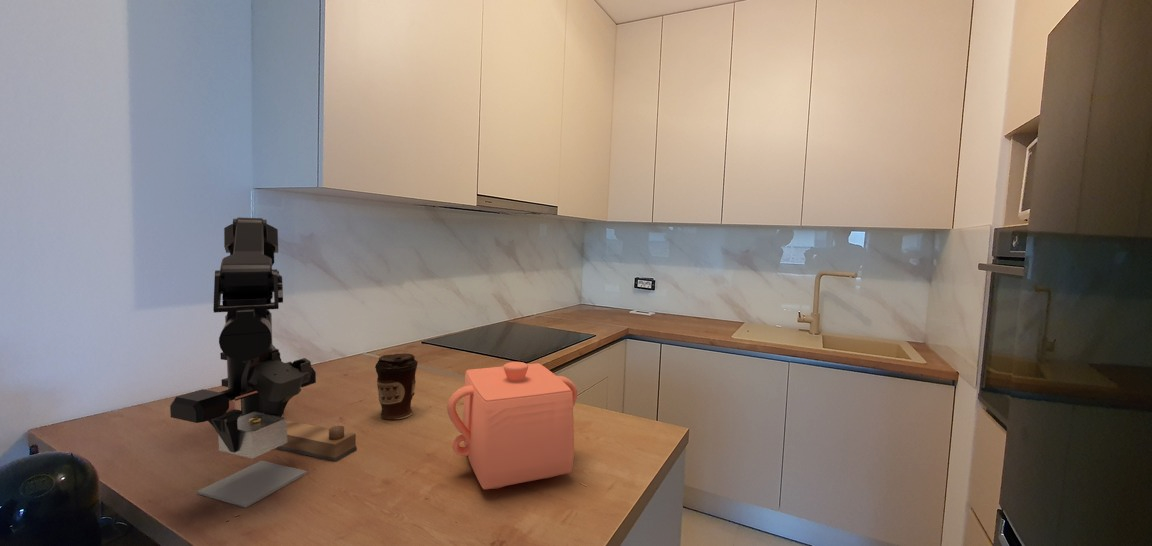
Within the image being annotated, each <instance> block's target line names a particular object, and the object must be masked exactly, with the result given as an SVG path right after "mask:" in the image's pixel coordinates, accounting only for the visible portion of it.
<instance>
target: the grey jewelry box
mask: <svg viewBox="0 0 1152 546" xmlns="http://www.w3.org/2000/svg"><path fill="white" fill-rule="evenodd" d="M287 419H288V418H287V417H283V416H282V417H279V416H274V415H268V414H263V413H258V412H252V413H249V414H246V415H244V416H241V417H239V418H238V420H237V425H238V450H237V452H235V453H234V452H230V451H229V449H228V448H227V446H226V445H225V443H224V442H223V440H222V439H221V437H220V436H219V434H218V433H217V436H218V437H217V438H218V441H217V442H218V451H219V452H223V453H228V454H232V455H235V456H240V457H244V458H249V459H255V458H257V457H259V456H261V455H263V454H266V453H268V452H270V451H272V450H274V449H277V447H279V446H281V445H283V444H285V443H287V421H288V420H287Z"/></svg>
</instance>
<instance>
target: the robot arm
mask: <svg viewBox="0 0 1152 546" xmlns="http://www.w3.org/2000/svg"><path fill="white" fill-rule="evenodd" d="M223 232H224V233H223V234H224V235H223V236H224V237H223V240H224V241H223V242H224V243H223V246H224V250H225V253H226V254H229V255H228V256H225V257H223V258H222V259H221V262H220V269H219V270H214V279H213V280H214V286H213V287H214V288H213V313H214V314H215V313H226V315H225V316H224V319H225V324H224V325H223V327H222V331H221V332H220V334H219V337H218V345H219V347H220V350H221V351H222V352H220V353H219V354H220V356H219V357H220V360H222V361H226V368H227V369H226V373H227V377H226V378H221V379H220V381H221V386H222V387H223V388H224V387H226V388H227V389H225V390H221V391H219V392H218V391H213V390H208V389H197V390H196V391H191V392H189V393H185V394H181V395H178V396H175V398H174V399H173V401H172V402H171V403H170V406H169V411H170V418H171V419H176V420H177V419H178V420H180V421H185V422H191V423H193V424H198V423H205V422H208V424H210V425H211V426H212V428H213V429H214V430H215V431H216V433H217V435H218V434H219V436H220V437H221V439H222V440H223V442H224V443H225V445H226V446H227V448H228V449H229V451H230V452H234V453H235V452H237V450H238V425H237V420H238V418H239V417H241V416H244V415H246V414H249V413H252V412H258V413H263V414H268V415H274V416H279V417H283V414H284V413H285V409H286V407H287V405H288V403H289V402H290V400H292V398H293V397H295V396H297V395H299V393H301V391H302V388H305V387H308V386H310V385H313V384H316V383H317V372H316V370H315V369H314V368H313V367H312V364H311V363H312V362H311V361H310V360H309V359H307V358H306V357H303V358H299V359H296V360H294V361H293V362H292V361H287V362H284V361H282V358H281V352H280V349H279V348H276V347H275V345H274V344H273V321H272V312H271V311H270V310H279V303H281V304H282V303H284V293H283V292H284V291H283V290H284V287H283V275H281V274H280V272H279V270H278V269H277V268H276V269H275V268H274V269H273V265H274V264H275V254H278V253H279V229H278V228H276V227H274V226H273V225H270V224H268V222H267V219H264V218H261V217H238V216H237V218H233V219H232V223H231V224H230V225H227V226H226V227H224V229H223ZM221 297H222V298H221ZM221 299H222V301H221ZM272 299H274V301H273V302H272ZM221 302H222V304H221ZM239 400H240V409H237V408H236V402H237V401H239Z"/></svg>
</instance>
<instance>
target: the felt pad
mask: <svg viewBox="0 0 1152 546" xmlns="http://www.w3.org/2000/svg"><path fill="white" fill-rule="evenodd" d="M307 474H308V471H307V470H303V469H300V468H295V467H292V466H291V467H290V466H286V465H281V464H278V463H274V462H270V461H266V460H259V461H257V462H256V463H254V464H251V465H249V466H247V467H245V468H243V469H241V470H239V471H237V472H235V473H232V474H229V475H228V476H226V477H224V478H221V479H219V480H218V481H216V482H213V483H211V484H210V485H207V486H205V487H203V488H201V489H199V490H197V491H196V494H197V495H200V496H204V497H207V498H211V499H215V500H218V501H220V502H221V501H222V502H225V503H228V504H231V505H235V506H239V507H242V508H248V507H250V506H252V505H254V504H255V503H257V502H258V501H260V500H262V499H264V498H266V497H268V496H270V495H271V494H273V493H275V492H277V491H279V490H280V489H282V488H283V487H285V486H288V485H290V484H291V483H292V482H294V481H296V480H298V479H301V478H302V477H304V476H305V475H307Z"/></svg>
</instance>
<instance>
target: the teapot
mask: <svg viewBox="0 0 1152 546" xmlns="http://www.w3.org/2000/svg"><path fill="white" fill-rule="evenodd" d="M464 377H465V378H464V379H465V380H464V386H462V387H460V388H459V389H457V390H455V391H454V392H453V393H452V395H451V396H450V397H449V399H448V401H447V403H446V404H447V405H446V410H447V415H448V417H449V420H450V422H451V423H452V424H453V426H454V427H455V429H456V430H457V431H458V432H459V433H460V435H458V436H456V437H455V438H454V440H453V443H452V449H453V451H454V453H455V455H458V456H459V457H467V458H468V461H469V464H470V466H471V468H472V471H473V472H474V474H475V477H476V479H477V481H478V483H479V484H480V487H481V489H483V490H484V491H485V490H490V489H491V490H492V489H493V490H497V489H501V488H504V487H507V486H513V485H518V484H521V483H522V484H523V483H528V482H533V481H537V480H543V479H552V478H554V477H557V476H562V475H567V474H571V473H572V472H573V467H574V466H573V465H574V458H575V457H574V455H575V425H574V423H575V422H574V421H575V420H574V419H575V418H574V407H575V404H576V403H577V399H578V389H577V386H576V385H575V383H574V382H573V381H572V380H571V379H569V378H567V377H566V376H563V375H556V374H554V372H552V371H551V370H549V369H548V368H547V367H545V366H544V365H543V364H540V363H525V362H521V361H510V362H506V363H504V364H503V365H501V366H494V367H493V366H492V367H483V368H482V367H481V368H474V369H473V368H471V369H466V371H465V376H464ZM462 399H463V407H462V408H463V410H462V411H463V412H462V420H461V418H460V416H459V415H458V412H457V410H456V409H457V408H456V406H457V403H458V402H459V401H460V400H462ZM462 442H463V444H464V446H461V445H460V443H462Z"/></svg>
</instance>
